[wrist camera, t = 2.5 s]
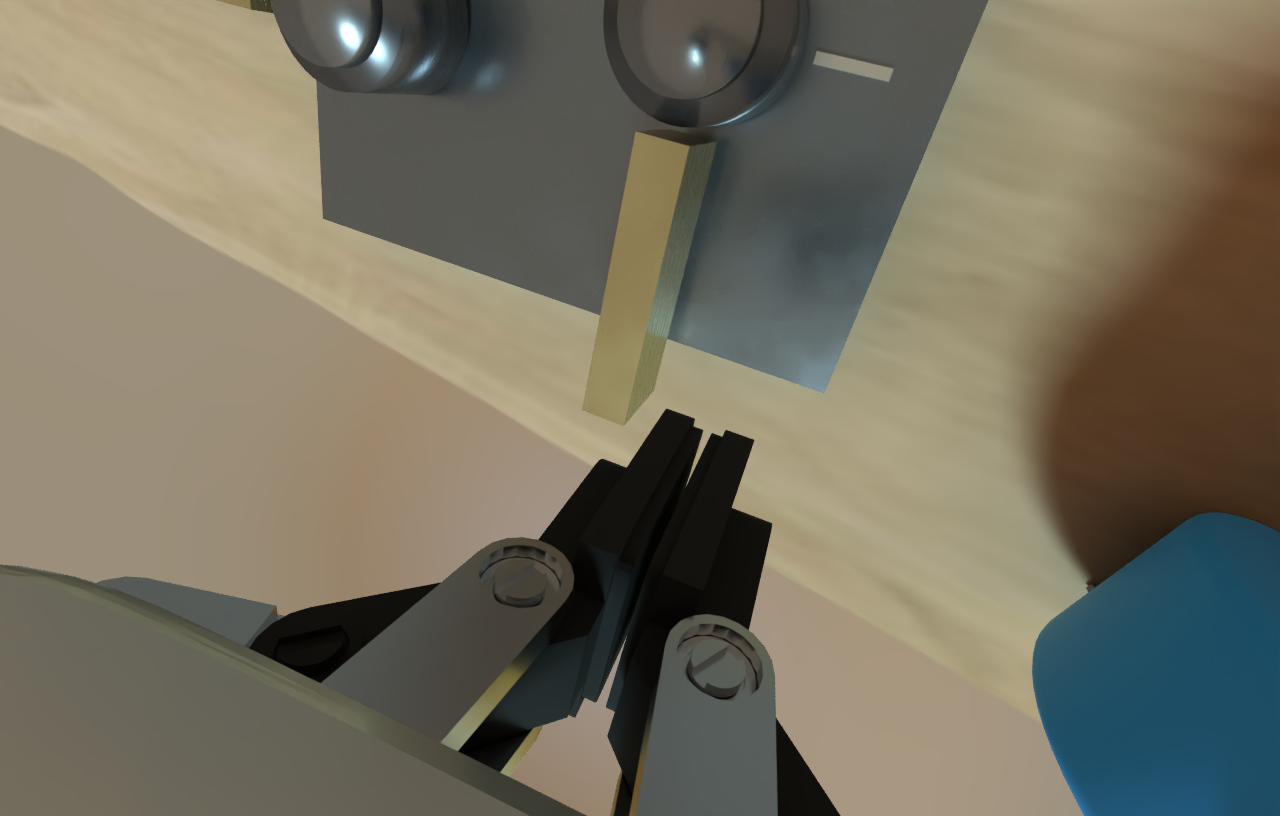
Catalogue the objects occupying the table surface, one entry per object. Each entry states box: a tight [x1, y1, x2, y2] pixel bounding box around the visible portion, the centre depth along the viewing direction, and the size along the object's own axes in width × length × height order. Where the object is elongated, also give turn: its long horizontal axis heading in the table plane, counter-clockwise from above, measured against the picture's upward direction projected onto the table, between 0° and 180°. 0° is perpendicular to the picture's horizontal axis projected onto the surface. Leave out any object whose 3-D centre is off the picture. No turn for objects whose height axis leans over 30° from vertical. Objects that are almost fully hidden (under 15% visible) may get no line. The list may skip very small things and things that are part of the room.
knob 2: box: [582, 0, 808, 426], centre depth 17 cm, size 13×4×4 cm, turn 167°
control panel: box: [317, 0, 988, 393], centre depth 18 cm, size 20×13×4 cm, turn 77°
